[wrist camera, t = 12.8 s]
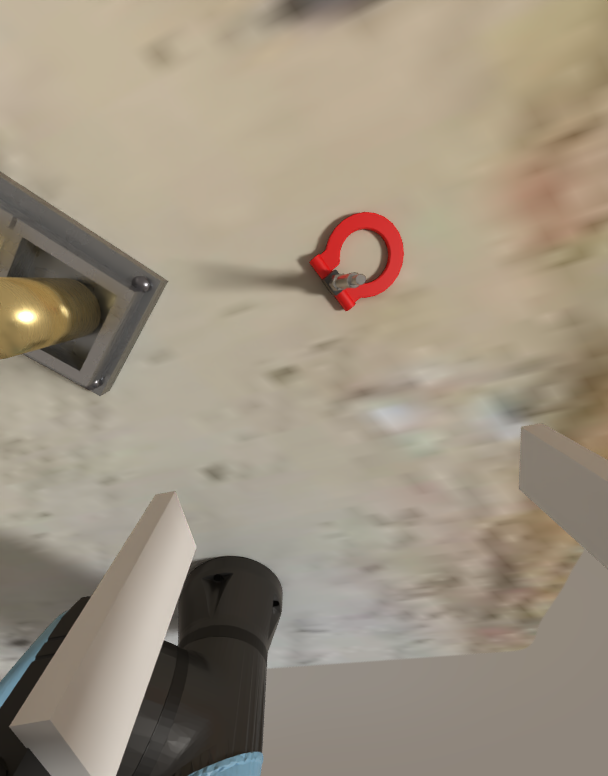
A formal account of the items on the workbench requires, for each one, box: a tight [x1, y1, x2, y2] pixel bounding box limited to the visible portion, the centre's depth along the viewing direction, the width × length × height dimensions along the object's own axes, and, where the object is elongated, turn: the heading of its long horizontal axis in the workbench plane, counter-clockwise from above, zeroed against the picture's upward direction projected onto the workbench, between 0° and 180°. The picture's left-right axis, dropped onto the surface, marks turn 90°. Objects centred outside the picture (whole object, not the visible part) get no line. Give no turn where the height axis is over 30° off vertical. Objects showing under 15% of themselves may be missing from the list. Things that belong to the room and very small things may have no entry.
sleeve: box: [0, 277, 101, 359], centre depth 28 cm, size 6×6×10 cm
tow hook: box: [309, 212, 404, 311], centre depth 29 cm, size 8×13×9 cm
